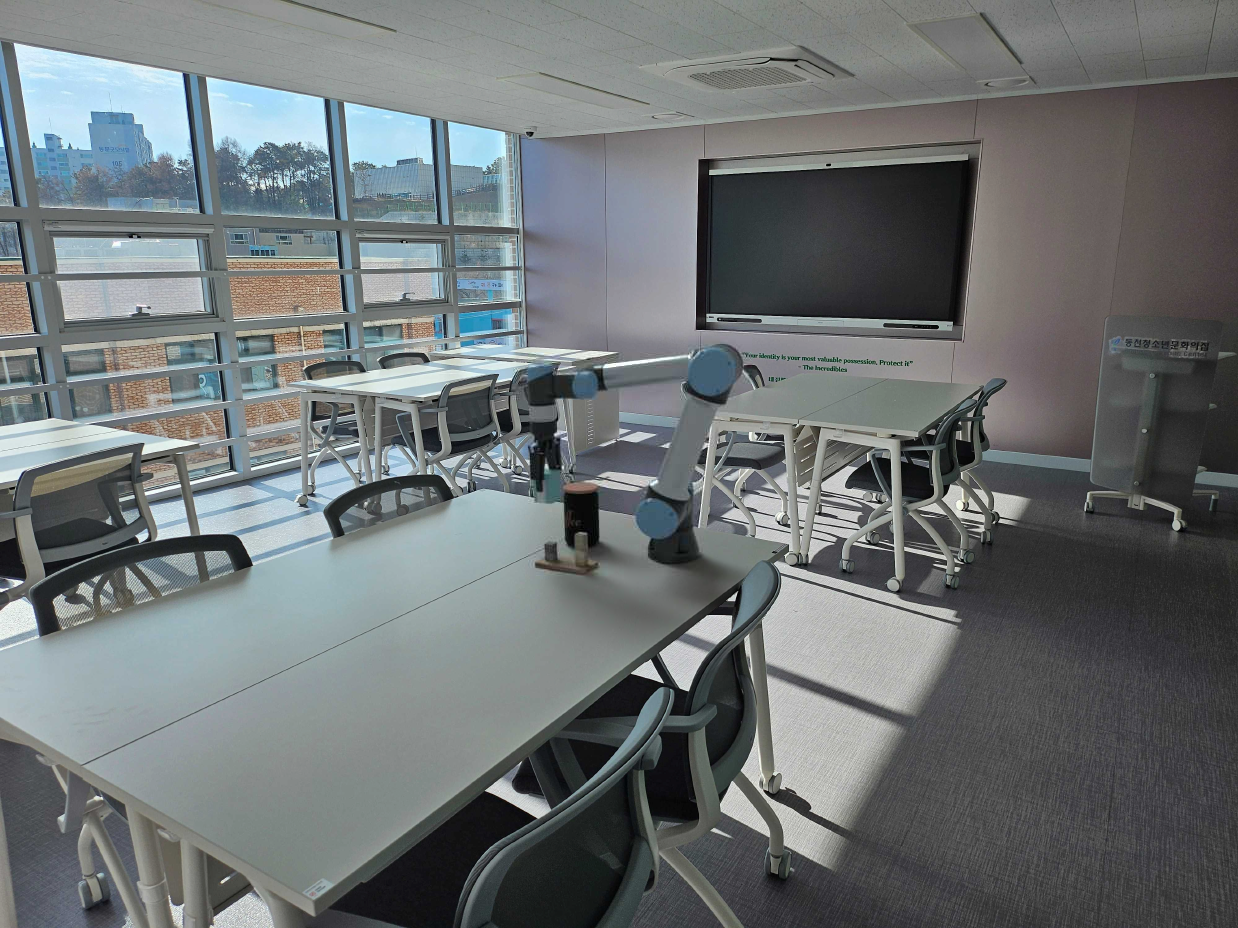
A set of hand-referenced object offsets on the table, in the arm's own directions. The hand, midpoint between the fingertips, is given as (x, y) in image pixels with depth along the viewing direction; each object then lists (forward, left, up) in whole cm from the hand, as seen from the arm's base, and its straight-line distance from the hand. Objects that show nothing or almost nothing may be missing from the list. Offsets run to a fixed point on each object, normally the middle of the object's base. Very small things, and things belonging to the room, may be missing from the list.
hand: (548, 499), depth 238 cm
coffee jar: (-17, +1, -18) cm, 25 cm away
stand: (+3, +7, -18) cm, 20 cm away
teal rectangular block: (0, 0, 0) cm, 0 cm away
